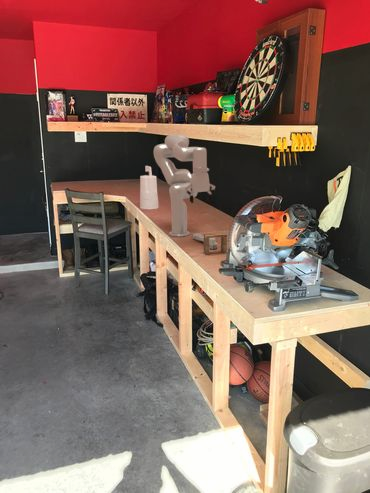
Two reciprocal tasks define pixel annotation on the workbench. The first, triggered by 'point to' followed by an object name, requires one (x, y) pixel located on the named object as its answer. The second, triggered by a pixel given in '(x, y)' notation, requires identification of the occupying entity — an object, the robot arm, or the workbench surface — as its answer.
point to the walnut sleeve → (214, 235)
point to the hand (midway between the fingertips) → (200, 202)
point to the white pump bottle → (148, 191)
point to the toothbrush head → (201, 238)
